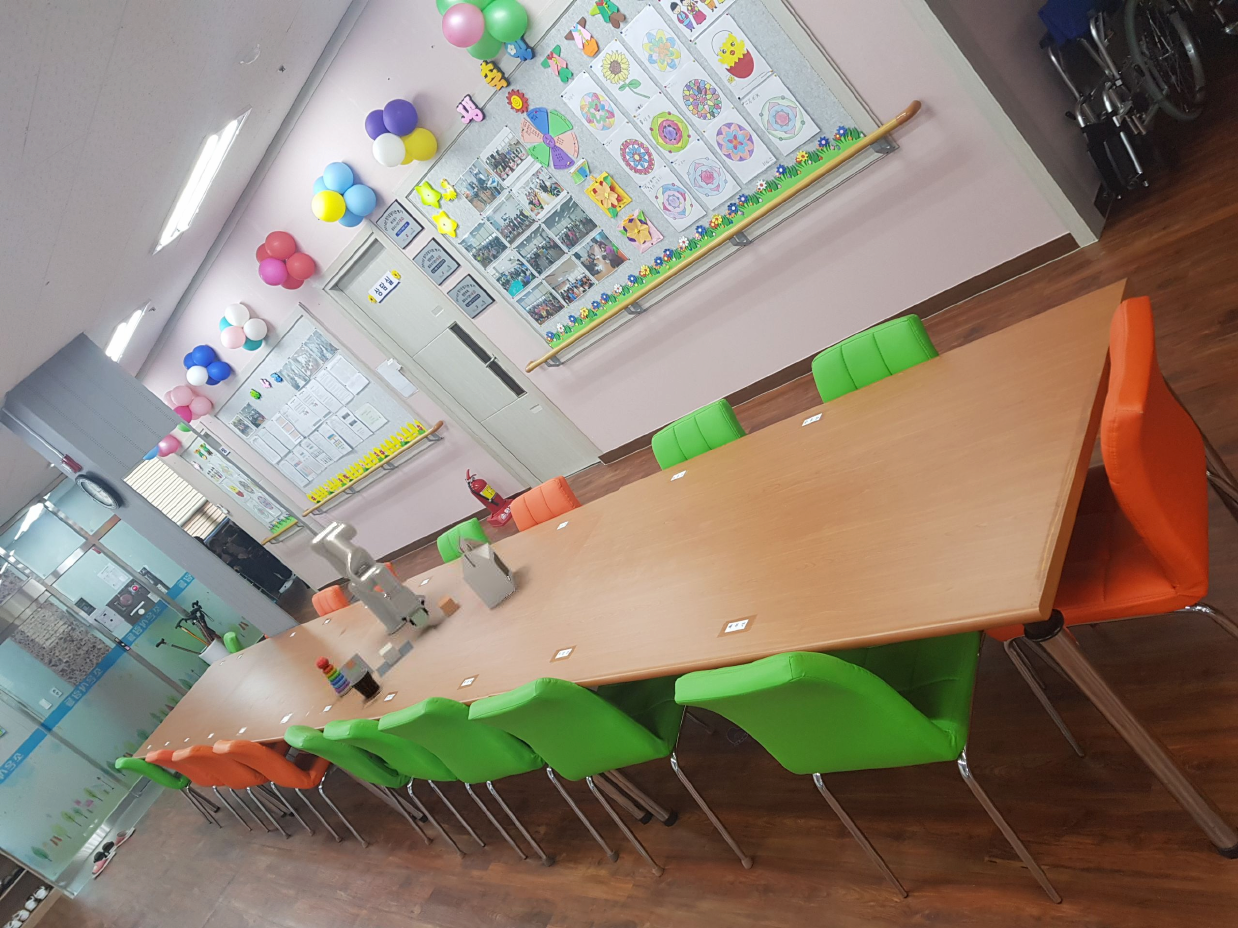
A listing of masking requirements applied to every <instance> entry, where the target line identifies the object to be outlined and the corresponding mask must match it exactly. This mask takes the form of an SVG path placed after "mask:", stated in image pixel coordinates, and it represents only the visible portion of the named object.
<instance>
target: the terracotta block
mask: <svg viewBox="0 0 1238 928" xmlns="http://www.w3.org/2000/svg"><path fill="white" fill-rule="evenodd" d="M436 606H438V608H439V609H440V610H441V611H442V612H443V613H444V614H445V615H446V616H447V617H449V618H450V617H451V616H452V615H453V614H454V613H455V612H456V611H457V610H458V609H459V608H460V607H459V605H458V604H457V603H456V602H455V601H454V600H453V599H452V598H451V597H450V596H449V595H448V594H445V596H444V597H442V599H441V598H440V600H439V601H437V603H436Z"/></svg>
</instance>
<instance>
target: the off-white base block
mask: <svg viewBox="0 0 1238 928" xmlns="http://www.w3.org/2000/svg"><path fill="white" fill-rule="evenodd" d="M378 653H379V655H380V657H381V658H383V659H384V660H385V661H387V662H388V663H389V665H390V666H391V665H392V664H393V663H395V662H396V661H397V660H398V659H399V658H400V657H401V656H402V655H401V654H400V653H399V651H398V649H397V648H396V647H395V646H394V645H393V644H392V643H391V642H390V641H389V642H388V643H386V645H385V646H384V647H382V648H381V649H380V650H379V651H378Z"/></svg>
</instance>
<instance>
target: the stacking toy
mask: <svg viewBox="0 0 1238 928" xmlns="http://www.w3.org/2000/svg"><path fill="white" fill-rule="evenodd" d="M316 667H317V668H318V669H319V670H322V674H324V676H325V678H326V679H327V681H328V682H329V684H330V685H331V686H332V688H333V689H334V691H335V692H336V693H337V696H339V697H342V696H345V695H346V694H347V693H349V691H351V690H352V688H353V687H352V686H351V685H350V682H349V681H348V680H347V679H346V678H345V677H344V675H343V674H342V673H341V672H340V671H339V670H338V668H337V667H336V666H334V665H333V663H330V661H329V659H328V658H327V657H320V658H319V659H317V661H316Z"/></svg>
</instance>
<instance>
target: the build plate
mask: <svg viewBox="0 0 1238 928" xmlns="http://www.w3.org/2000/svg"><path fill="white" fill-rule="evenodd" d="M414 648H415V646H413V644H412V643H411V642H410V640H407V641H406V642H405V643H403V645H401V646H400V647H399V649H397V650H398V651H399V653H400V654H401V655H402V656H401V657H400V658H399V659H398V660H397V661H396V662H395V663H393V664H392V665H391V666H390V665H389V663H388V662H387V661H386V660H385V661H384V662H383V663H382V664H381V665H379V666H378V667H377V668H376V669H375V671H376V672H377V674H378V677H379V678H380V679H381V678H383V676H384V675H385V674H387V673H388V672H389V671H390V670H391V669H392V668H394V666H396V665H397V664H398V663H399V662H400V661H401V660H402V659H403V658H404V657H406V656H407V654H409V653H410V652H411V651H412V650H413V649H414Z"/></svg>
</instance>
